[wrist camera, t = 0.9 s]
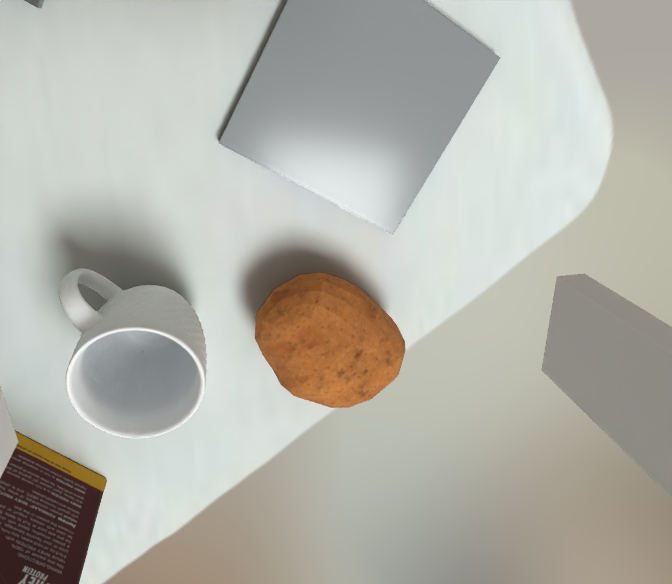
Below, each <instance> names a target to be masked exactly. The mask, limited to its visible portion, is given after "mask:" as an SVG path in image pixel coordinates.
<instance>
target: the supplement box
mask: <svg viewBox="0 0 672 584" xmlns="http://www.w3.org/2000/svg"><path fill="white" fill-rule="evenodd" d="M15 433H16V436H17V439H18V443H17V445H16V447H15V449H14V451H13V453H12V455H11V457H10V459H9V462H8V464H7V466H6V468H5V470H4V472H3V474H2V476H1V478H0V584H79V581H80V577H81V574H82V570H83V566H84V562H85V559H86V555H87V551H88V547H89V543H90V539H91V536H92V532H93V528H94V525H95V521H96V517H97V514H98V509H99V506H100V502H101V499H102V495H103V492H104V489H105V486H106V482H107V480H106V478H104V477H102V476H100V475H98V474H96V473H94V472H93V471H91V470H89V469H87V468H85V467H83V466H81V465H79V464H77V463H75V462H73V461H71V460H69V459H67V458H66V457H64V456H62V455H60V454H58V453H56V452H54V451H52V450H50V449H48V448H46V447H44V446H43V445H41V444H39V443H37V442H35V441H33V440H31V439H29V438H27V437H25V436H23V435H21V434H19V433H18V432H16V431H15Z"/></svg>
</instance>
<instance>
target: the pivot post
mask: <svg viewBox="0 0 672 584" xmlns="http://www.w3.org/2000/svg"><path fill="white" fill-rule="evenodd" d="M25 1H27V2H28V3H30V4H32V5H34V6H36V7H38V8H41V7H42V4H43V1H44V0H25Z"/></svg>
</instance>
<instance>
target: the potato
mask: <svg viewBox="0 0 672 584" xmlns="http://www.w3.org/2000/svg"><path fill="white" fill-rule="evenodd" d="M255 339H256V341H257V343H258V346H259V348H260V350H261V352H262V354H263V356H264V357H265V359H266V360H267V362H268V363H269V365H270V366H271V368H272V369H273V370H274V372H275V374H276V376H277V378H278V380H279V382H280V384H281V385H282V386H283V387H284V388H286V389H287V390H288V391H289V392H290V393H291V394H293V395H294V396H297V397H299V398H302V399H305V400H309V401H312V402H315V403H319V404H322V405H325V406H328V407H331V408H343V407H351V406H354V405H356V404H359V403H362V402H364V401H367V400H370V399H372V398H373V397H374V396H375V395H376V394H378V393H379V392H380V391H381V390H382V389H384V388H385V387H386V386H387V385H388V384H390V383H391V382H392V381H393V380H394V379H395V378H396V377H397V376H398V374H399V371H400V368H401V364H402V360H403V357H404V353H405V341H404V339H403V337H402V335H401V333H400V331H399V329H398V327H397V325H396V324H395V322H394V321H393V320H392V318H391V317H390V316H389V315H388V314H387V313H386V312H385V311H384V310H383V309H382V308H381V307H380V306H378V305H377V304H376V303H375V302H374V301H373V300H372V299H371V298H370V297H369V296H368V295H366V294H365V293H364V292H363V291H362V290H361V289H360V288H359V287H357V286H355V285H354V284H352V283H350V282H348V281H346V280H344V279H342V278H340V277H336V276H333V275H329V274H326V273H322V272H320V273H310V274H300V275H298V276H296V277H295V278H293V279H292V280H290V281H288V282H286V283H284V284H282V285H280V286H279V287H277V288H275V289H274V290H273V291H272V293H271V294H270V295H269V297H268V298H267V299H266V301H265V302H264V303H263V305H262V306H261V308H260V309H259V310H258V312H257V315H256V327H255Z"/></svg>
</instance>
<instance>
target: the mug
mask: <svg viewBox="0 0 672 584" xmlns="http://www.w3.org/2000/svg"><path fill="white" fill-rule="evenodd" d="M78 283H79V284H82V285H85V286H87V287H89V288H91V289H93V290H94V291H96V292H97V293H99V294H100V295H101V296H103V297H104V298H105V299H106V300H107V302H106V303H105V304H104V305H102V306H101V307H100V309H99V310H98V311H95V310H94V309H93V308H92V307H91V306H90V305H89V304H88V303H87V302H86V301H85V300H84V299H83V297H82V295H81V293H80V291H79V288H78ZM59 297H60V301H61V304H62V306H63V308H64V310H65V312H66V314H67V315H68V317H69V318H70V320H71V321H72V323H73V324H74V325H75V326H76V327H77V328H78V330H79V331H81V332H82V334H81V337H80V340H79V341H78V343H77V346H76V348H75V350H74V353H73V355H72V358H71V360H70V363H69V365H68V369H67V373H66V389H67V394H68V397H69V399H70V401H71V403H72V405H73V407H74V409H75V410H76V411H77V412H78V414H79V415H80V416H81V417H82V418H83V419H84V420H86V421H87V422H88V423H89V424H91V425H92V426H94V427H96V428H97V429H100V430H102V431H104V432H106V433H109V434H112V435H115V436H120V437H125V438H149V437H154V436H158V435H161V434H164V433H167V432H169V431H172V430H174V429H175V428H177V427H179V426H180V425H182V424H183V423H184V422H186V421H187V420H188V419H189V418H190V417H191V416H192V415H193V414H194V412H195V411H196V410H197V408H198V407H199V405H200V403H201V401H202V398H203V395H204V391H205V384H206V363H207V362H206V345H205V337H204V334H203V329H202V327H201V322H200V321H199V318H198V316H197V314H196V313H195V310H194V309H193V308H192V307H191V305H190V304H189V303H188V302H187V300H186V299H184V298H183V297H182V296H181V295H180V294H178V293H176V292H175V291H174V290H171V289H168V288H167V287H162V286H158V285H140V286H137V287H132V288H130V289H126V290H125V291H124V290H122V289H121V288H120V287H118V286H117V285H115V284H114V283H113V282H111V281H110V280H109V279H107V278H106V277H104V276H102V275H101V274H99V273H97V272H94V271H92V270H89V269H85V268H79V269H75V270H73V271H71V272H70V273H68V274H67V275H66V276H65V277H64V278H63V279H62V281H61V283H60V286H59Z"/></svg>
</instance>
